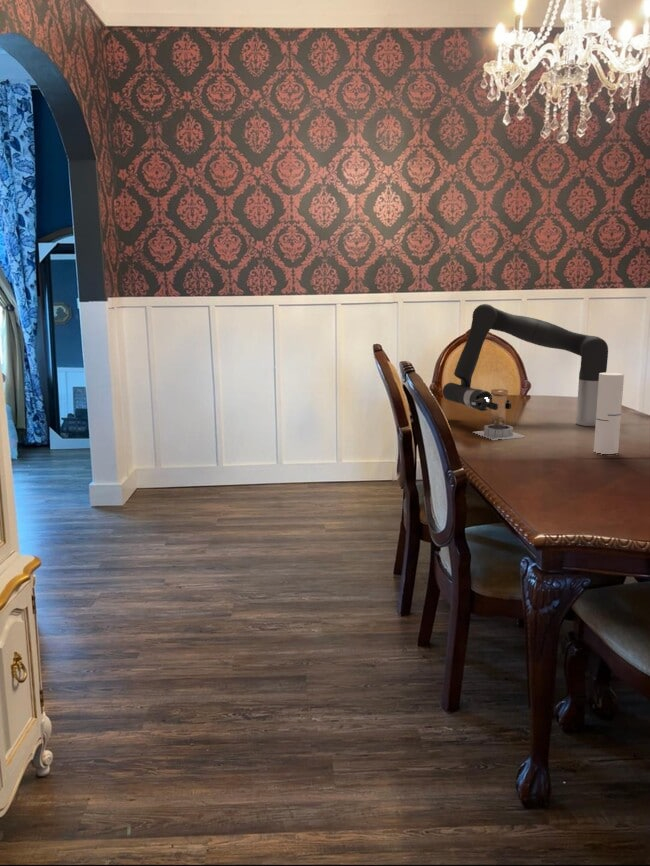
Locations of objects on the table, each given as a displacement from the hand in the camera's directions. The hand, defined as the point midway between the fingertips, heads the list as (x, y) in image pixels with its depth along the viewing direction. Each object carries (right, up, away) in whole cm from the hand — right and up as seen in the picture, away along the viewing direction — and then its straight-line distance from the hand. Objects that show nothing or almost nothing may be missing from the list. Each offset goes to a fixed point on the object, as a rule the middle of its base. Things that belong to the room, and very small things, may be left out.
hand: (503, 406), depth 243 cm
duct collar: (-1, -10, +5) cm, 11 cm away
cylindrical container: (+27, -16, -23) cm, 38 cm away
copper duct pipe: (-1, -6, +4) cm, 7 cm away
